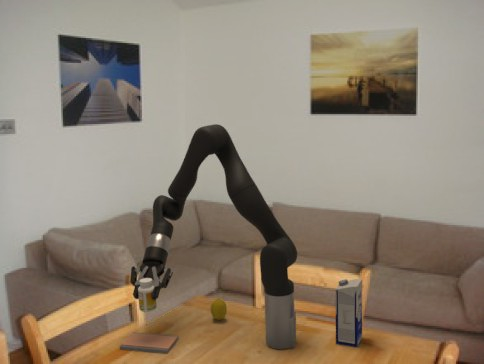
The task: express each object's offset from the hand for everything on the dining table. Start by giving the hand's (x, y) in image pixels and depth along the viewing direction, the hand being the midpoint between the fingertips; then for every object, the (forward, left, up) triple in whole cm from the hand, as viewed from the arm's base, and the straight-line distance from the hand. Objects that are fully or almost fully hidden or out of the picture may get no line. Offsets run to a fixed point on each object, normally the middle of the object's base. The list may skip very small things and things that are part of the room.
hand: (144, 298), depth 173 cm
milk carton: (-62, -14, -16) cm, 66 cm away
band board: (0, -1, -16) cm, 16 cm away
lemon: (-17, -22, -16) cm, 32 cm away
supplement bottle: (0, -2, -4) cm, 5 cm away
